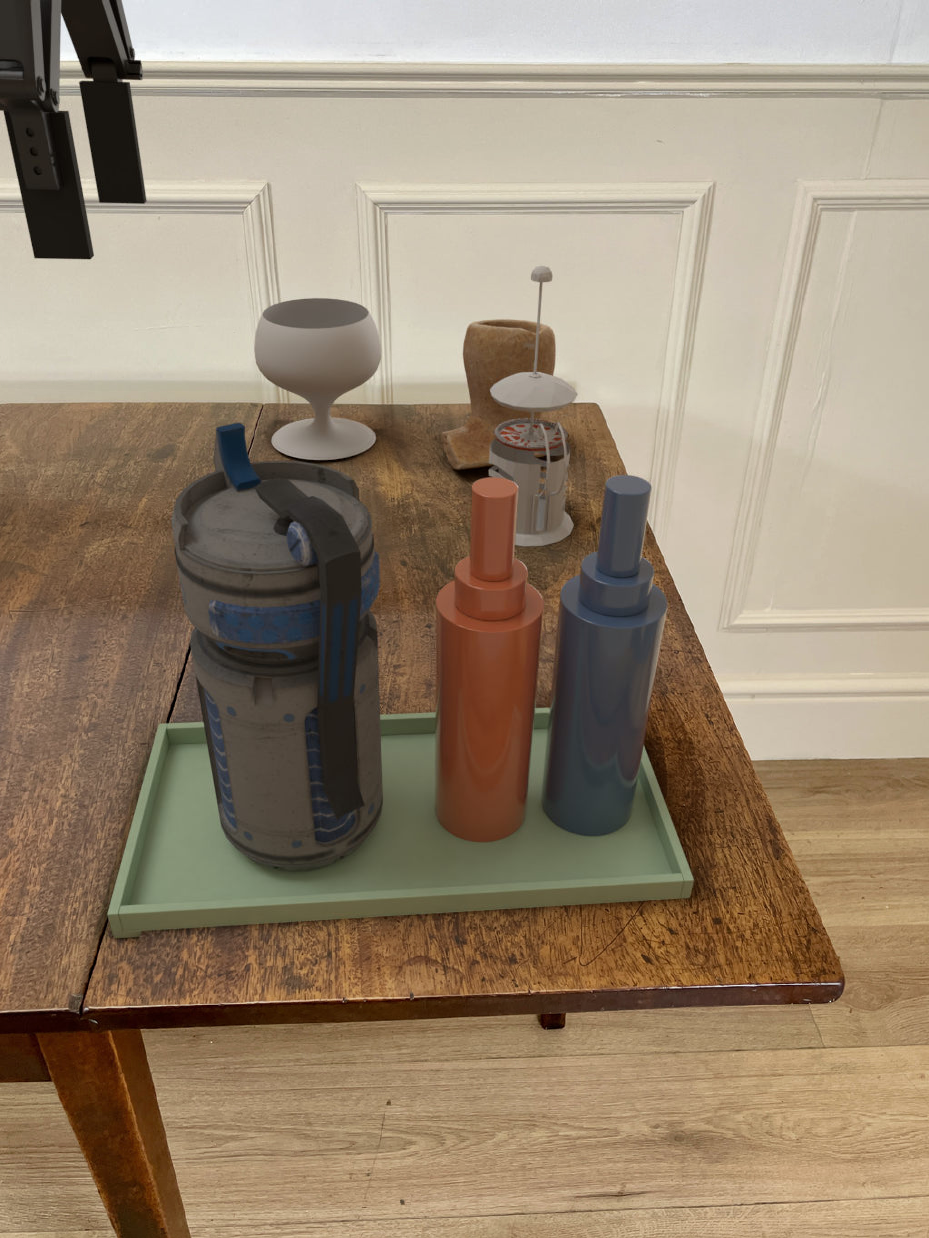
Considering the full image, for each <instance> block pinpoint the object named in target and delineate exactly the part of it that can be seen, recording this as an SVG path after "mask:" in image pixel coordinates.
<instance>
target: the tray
mask: <svg viewBox="0 0 929 1238" xmlns="http://www.w3.org/2000/svg"><path fill="white" fill-rule="evenodd" d="M548 717H549V707H535V718H534V730H533V742H532V754H531V766H530V778H529V790H528V801H527V813H526V818H525V820H524V822H523V824H522V825H521V827H520V828H519V829H518V830H517V831H516V832H514V833H513V834H511V835H510V836H508V837H506V838H504V839H501V840H497V841H493V842H472V841H467V840H464V839H461V838H458V837H456V836H454V835H452V834H451V833H449V832H448V831H447V830H446V829H444V828H443V827H442V825H441V824H440V823H439V821H438V819H437V817H436V814H435V711H434V712H412V713H411V712H409V713H386V714H380V727H381V757H382V787H383V807H382V812H381V816H380V818H379V820H378V822H377V824H376V826H375V828H374V829H373V830H372V832H371V833H370V834H369V836H368V837H367V838H366V839H365V841H364V842H363V843H362V844H361V845H360V846H359V847H358V848H357V849H356V850H355V851H353V852H352V853H351V854H350V855H348V856H346V857H345V858H343V859H340V857H339V858H337V861H336V862H335V863H332V864H330V865H327V866H325V867H321V868H316V869H312V870H304V871H284V870H282V869H281V868H280V867H277V869H272V868H268V867H265V866H262V865H260V864H258V863H256V862H253V861H252V860H251V859H249V858H248V857H246V856H245V855H244V854H242V853H241V852H240V851H239V850H237V849H236V848H235V847H234V846H233V845H232V844H231V843H230V841H229V840H228V839H227V838H226V836H225V834H224V832H223V830H222V828H221V823H220V817H219V811H218V805H217V799H216V793H215V787H214V781H213V775H212V770H211V764H210V758H209V752H208V746H207V740H206V734H205V728H204V723H203V721H193V722H192V721H191V722H189V721H188V722H170V723H168V722H165V723H164V722H163V723H158V726H157V729H156V732H155V736H154V740H153V744H152V748H151V751H150V756H149V758H148V762H147V765H146V768H145V769H146V770H145V773H144V776H143V781H142V785H141V788H140V791H139V796H138V799H137V803H136V807H135V810H134V814H133V818H132V822H131V825H130V828H129V832H128V835H127V836H128V837H127V840H126V844H125V847H124V851H123V855H122V859H121V862H120V865H119V870H118V873H117V877H116V880H115V884H114V887H113V892H112V896H111V899H110V902H109V906H108V910H107V913H106V915H107V919H108V923H109V925H110V929H111V933H112V936H113V939H128V938H129V939H130V938H141V935H142V932H143V931H144V932H146V931H147V932H148V931H160V930H161V931H163V930H164V931H165V930H178V929H194V928H195V929H196V928H213V927H225V926H226V927H228V926H230V927H231V926H243V925H247V926H248V925H259V924H260V925H263V924H277V923H291V922H292V923H293V922H294V923H295V922H311V921H327V920H330V921H331V920H343V919H360V918H361V919H363V918H376V917H379V918H380V917H394V916H395V917H396V916H411V915H427V914H444V913H459V912H477V911H478V912H479V911H493V910H510V909H528V908H541V907H542V908H543V907H544V908H545V907H559V906H576V905H577V906H578V905H579V906H580V905H593V904H594V905H595V904H608V903H609V904H610V903H625V902H626V903H627V902H644V901H645V902H646V901H658V900H678V899H690V898H691V894H692V892H693V891H692V890H693V887H694V883H695V879H694V876H693V873H692V870H691V868H690V865H689V862H688V860H687V857H686V854H685V851H684V849H683V847H682V843H681V841H680V839H679V836H678V833H677V830H676V828H675V825H674V823H673V820H672V818H671V817H672V816H671V813H670V812H669V808H668V806H667V804H666V801H665V799H664V795H663V793H662V790H661V787H660V785H659V782H658V779H657V777H656V775H655V771H654V769H653V766H652V764H651V761H650V758H649V756H648V753H647V750H646V747H645V745H644V746H643V752H642V758H641V763H640V769H639V775H638V781H637V787H636V793H635V798H634V804H633V810H632V814H631V817H630V819H629V821H628V822H627V823H626V824H625V825H624V826H623V827H622V828H620V829H619V830H617V831H615V832H613V833H610V834H607V835H602V836H583V835H577V834H574V833H571V832H568V831H566V830H564V829H562V828H560V827H559V826H557V825H556V824H555V823H553V822H552V821H551V820H550V819H549V818H548V816H547V815H546V814H545V812H544V810H543V807H542V804H541V791H542V781H543V770H544V759H545V749H546V738H547V728H548Z"/></svg>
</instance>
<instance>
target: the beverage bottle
mask: <svg viewBox="0 0 929 1238" xmlns="http://www.w3.org/2000/svg"><path fill="white" fill-rule="evenodd" d="M245 431H246V426H245V425H244V424H242V423H241V422H236V423H235V422H234V423H231V424H226V425H225V424H224V425H221V426H217V427H216V428H215V439H214V449H213V464H214V471H212V472H210V473H208V474H206V475H203V476H201V477H199V478H197V479H196V480H194V481H192V482H191V483H189V484H188V485H187V486H186V487H185V488H184V489H182V490H181V491H180V493H179V494H178V496H177V497H176V499H175V502H174V506H173V509H172V510H173V511H172V513H171V514H172V515H171V519H170V520H171V521H170V522H171V523H170V524H171V529H172V535H173V540H174V556H175V561H176V568H177V573H178V579H179V586H180V591H181V597H182V603H183V610H184V614H185V615H186V617H187V619H188V621H189V623H190V624H191V625H193V626H194V629H192V630H191V633H190V638H189V646H190V651H191V652H190V653H191V658H192V664H193V670H194V674H195V681H196V687H197V692H198V693H197V694H198V699H199V704H200V709H201V710H200V711H201V716H202V722H203V723H204V728H205V734H206V740H207V746H208V752H209V758H210V764H211V770H212V775H213V781H214V787H215V793H216V799H217V805H218V811H219V817H220V823H221V828H222V830H223V832H224V834H225V836H226V838H227V839H228V840H229V841H230V843H231V844H232V845H233V846H234V847H235V848H236V849H237V850H239V851H240V852H241V853H242V854H244V855H245V856H246V857H248V858H249V859H251V860H252V861H253V862H256V863H258V864H260V865H262V866H265V867H268V868H272V869H277V867H280V868H281V869H282V870H284V871H304V870H312V869H316V868H321V867H325V866H327V865H330V864H332V863H335V862H336V861H337V858H339V857H340V859H343V858H345V857H346V856H348V855H350V854H351V853H352V852H353V851H355V850H356V849H357V848H358V847H359V846H360V845H361V844H362V843H363V842H364V841H365V839H366V838H367V837H368V836H369V834H370V833H371V832H372V830H373V829H374V828H375V826H376V824H377V822H378V820H379V818H380V816H381V812H382V807H383V787H382V757H381V727H380V715H381V698H380V696H381V695H380V671H379V641H378V639H379V638H378V637H379V636H378V622H377V619H376V618H375V615H374V613H373V612H372V610H371V608H372V607H373V605H374V604H375V603H374V602H375V601H376V600H377V597H378V595H379V591H380V589H381V574H380V573H381V572H380V570H381V569H380V554H379V552H377V551H376V550H375V539H374V538H375V537H374V533H373V522H372V521H373V520H372V515H371V512H370V511H369V509H368V507H367V505H365V504H364V503H363V502H362V501H361V500H360V489H359V487H358V485H357V483H356V481H355V479H353V478H352V477H351V476H349V475H347V474H346V473H344V472H342V471H340V470H337V469H335V468H332V467H329V466H326V465H321V464H317V463H312V462H306V461H296V460H263V461H255V462H251V460H250V457H249V454H248V448H247V442H246V432H245Z"/></svg>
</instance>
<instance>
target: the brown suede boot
mask: <svg viewBox="0 0 929 1238" xmlns="http://www.w3.org/2000/svg"><path fill="white" fill-rule="evenodd" d="M536 332H537V321H530V320H523V319H510V318H509V319H508V318H507V319H504V318H503V319H501V318H499V319H498V318H497V319H485V320H484V319H482V320H478V321H473V322H470V323H469V324H468V326H467V328H466V331H465V334H464V339H463V346H462V359H463V367H464V373H465V377H466V383H467V388H468V395H469V400H470V411H471V412H470V413H469V414H470V415H469V418H468V420H467V422H465V423H464V424H463V425H461V426H460V427H458V428H455V429H451V430H446V431H443V432H441V433H440V436H439V439H440V442H441V443H442V445H443V452H444V453H445V455H446V458H447V461H448V463H449V465H450V466H451V468H453V470H457V471H460V470H467V469H468V470H469V469H477V468H482V467H493V466H494V464H491V463H489V453H490V444H491V443H492V441H493V439H495V438H496V437H495V434H494V432H493V431H494V430H495V428H496V427H497V426H498V425H499V424H502V423H504V422H506V421H510V420H512V419H514V420H515V419H523V418H524V419H526V418H527V419H529V418H531V412H527V411H519V410H514V409H511V408H507V407H504V406H502V405H500V404H499V403H497V402H496V401H494V399H493V397H492V395H491V392H490V389H491V388H492V387H493V385H494V384H495V383H497V382H499V381H500V380H502V379H504V378H506V377H509V376H511V375H514V374H517V373H522V372H534V363H535V348H536ZM556 344H557V343H556V336H555V333H554V330H553V329H552V328H551V327H550V326H549V325H547V324H544V323H541V322H540V328H539V343H538V358H537V372H541V373H545V374H548V375H552V376H554V374H555V369H556V355H557V354H556V353H557V351H556V350H557V349H556V346H557V345H556ZM542 415H543V412H534V419H537V420H539V419H540V420H543V416H542ZM566 442H567V443H568V441H566ZM545 456H546V457H547V455H544V454H540V453H537V452H535V454H534V457H535V458H542V457H545Z"/></svg>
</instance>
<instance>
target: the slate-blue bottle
mask: <svg viewBox="0 0 929 1238" xmlns="http://www.w3.org/2000/svg"><path fill="white" fill-rule="evenodd" d="M652 487H653V486H652V484H651V482H649V481H648V480H647V479H646V478H643V477H640V476H637V475H629V474H619V475H614V476H611V477H609V478H607V480H606V481H605V483H604V492H603V500H602V507H601V508H602V509H601V516H600V517H601V518H600V524H599V525H600V527H599V533H598V541H597V542H598V543H597V551H593V552H591V553H589V554H587V555H586V556H585V557H584V558H583V559H582V561H581V564H580V571H579V572H580V573H579V574H577V575H575V576H572V577H571V578H569V579H568V580H567V581H565V583H564V584H563V585H562V587H561V589H560V592H559V601H558V612H557V624H556V635H555V644H554V655H553V665H552V675H551V676H552V677H551V687H550V697H549V707H548V708H549V717H548V728H547V738H546V749H545V759H544V770H543V781H542V791H541V804H542V807H543V810H544V812H545V814H546V815H547V816H548V818H549V819H550V820H551V821H552V822H553V823H555V824H556V825H557V826H559V827H560V828H562V829H564V830H566V831H568V832H571V833H574V834H577V835H583V836H602V835H607V834H610V833H613V832H615V831H617V830H619V829H620V828H622V827H623V826H624V825H625V824H626V823H627V822H628V821H629V819H630V817H631V814H632V810H633V804H634V798H635V793H636V787H637V781H638V775H639V769H640V763H641V758H642V752H643V746H644V747H645V739H646V733H647V727H648V723H649V716H650V712H651V711H650V710H651V705H652V699H653V692H654V687H655V682H656V676H657V669H658V664H659V658H660V652H661V647H662V640H663V635H664V628H665V623H666V618H667V611H668V599H667V597H666V595H665V593H664V592H663V590H662V589H661V588H660V587H658V585H656V584H655V583H654V577H655V569H654V566H653V564H652V563H651V562H650V560H648V559H647V558H645V557H643V549H644V543H645V537H646V529H647V523H648V516H649V509H650V502H651V496H652Z"/></svg>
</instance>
